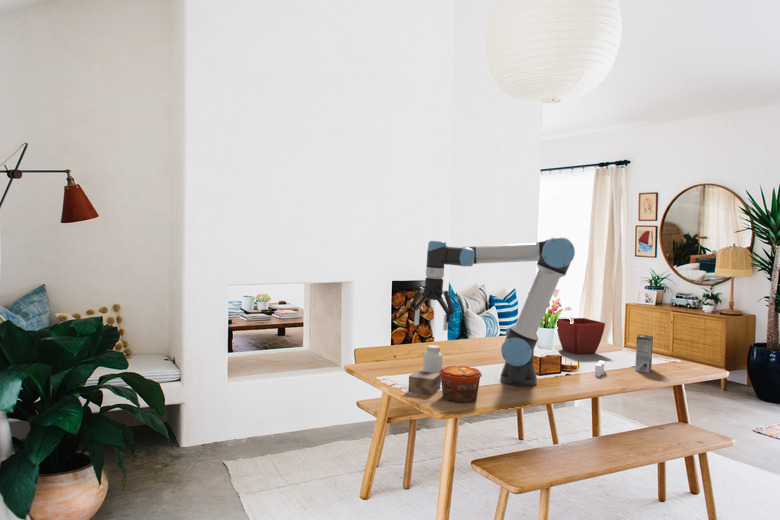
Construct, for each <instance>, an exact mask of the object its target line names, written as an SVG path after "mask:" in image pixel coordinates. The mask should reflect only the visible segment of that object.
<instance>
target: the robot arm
mask: <svg viewBox="0 0 780 520" xmlns="http://www.w3.org/2000/svg"><path fill="white" fill-rule="evenodd" d="M575 251H576V250H575V246H574V244H573V243H572V242H571V241H570V240H569V239H568V238H567V237H563V236H553V237H551V238H549V239H541V240H537V241H536V242H532V243H511V244H497V245H496V244H495V245H493V244H492V245H480V246H479V245H477V246H462V247H457V246H447V242H446V241H442V240H441V241H439V240H430V241H429V242H428V244H427V251H426V253H427V254H426V267H425V268H426V270H425V276H426V277H425V281H424V287H422V286H421V287H418V288H417V292H416V294H415V295H414V298H413V299H412V300H411V303H410V305H409V308H411V309H412V310H413V312H412V313H413V314H412V317H413V318H414V323H413V324H414V325H413V326H418V325H420V314H421V312H420V310H421V309H420V308H421V307H422V306H423V304H424V303H425V302H426V301H427V300H432V301H437V302H438V303H439V305H440V307H441V308H442V310H443V311H444V313H445V314H443V315H444V316H443V326H442V327H443V328H442V330H443V331H447V330H449V329H448V328H449V323H451V316H452V315H453V314H455V313H456V309H455V307H454V304H453V302H452V299H451V296H450V290H443V289H444V279H443V278H444V275H445V265H449V266H450V265H451V266H458V267H472V266H473V265H477V264H495V263H496V264H499V263H520V262H521V263H522V262H523V263H524V262H526V263H527V262H537V263H536V265H537V269H538V271H537V273H536V275H535V278H534V280H533V282H532V285H531V288H530V289H529V292H528V294H527V297H526V300H525V302H524V305H523V307H522V309H521V311H520V314H519V316H518V318H517V321H516V323H515V324H514V325H511V326H509V327H507V329H506V332H505V336H506V337H505V339H504V342H503V343H502V344H501V347H500V348H501V350H500V351H501V356H502V358H503V360H504V365H503V367H502V371H501V373H500V381H501V382H502V383H504V384H508V385H512V386H519V387H520V386H521V387H529V386H534V385H536V384H537V383H538V382H537V381H538V378H537V374H536V371H535V367H534V356H535V355H534V353H535V352H534V351H535V350H534V349H535V348H536V345H537V343H538V340H539V337H538V334H537V332H538V330H539V327H540V325H541V323H542V320H543V318H544V316H545V314H546V311H547V309H548V306H549V305H550V302H551V300H552V297H553V295H554V293H555V291H556V288H557V285H558V283H559V281H560V279H561V278H563V277H565V276H566V275H567V272H568V269H569V267H570V266H571V262H572V261H573V259H574V257H575V253H576V252H575ZM423 293H424V295H423V296H422V294H423ZM442 295H443V296H442ZM421 296H422V298H421ZM443 297H444V298H443ZM420 298H421V299H420ZM444 299H445V301H444Z"/></svg>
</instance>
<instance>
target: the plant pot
mask: <svg viewBox="0 0 780 520" xmlns="http://www.w3.org/2000/svg"><path fill="white" fill-rule="evenodd" d="M572 318H573V317H572ZM557 319H558V321H557V327H558V329H557V327H556V331H557V335H558V339H559V342H560V345H561V348H562V350H563V351H567V352H569V353H573V354H575V355H576V354H577V355H581V354H595V353H596V352H597V350H598V348H599V346H600V343H601V341H602V337H603V335H604V331H605V327H606V323H605V322H601V321H598V320H594V319H590V318H585V317H576V318H575V317H574V318H573V319H574V323H573V324H570V320H569V319H567V318H557Z"/></svg>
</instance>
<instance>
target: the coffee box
mask: <svg viewBox="0 0 780 520" xmlns="http://www.w3.org/2000/svg"><path fill="white" fill-rule="evenodd" d="M653 339H654V336H653V335H647V334H638V335H637V337H636V349H635V350H636V351H635V352H636V353H635V364H634V365H635V367H634V368H635V372H641V373H642V372H644V373H650V371H651V370H652V367H653V366H652V365H653V363H652V362H653V342H654V341H653Z"/></svg>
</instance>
